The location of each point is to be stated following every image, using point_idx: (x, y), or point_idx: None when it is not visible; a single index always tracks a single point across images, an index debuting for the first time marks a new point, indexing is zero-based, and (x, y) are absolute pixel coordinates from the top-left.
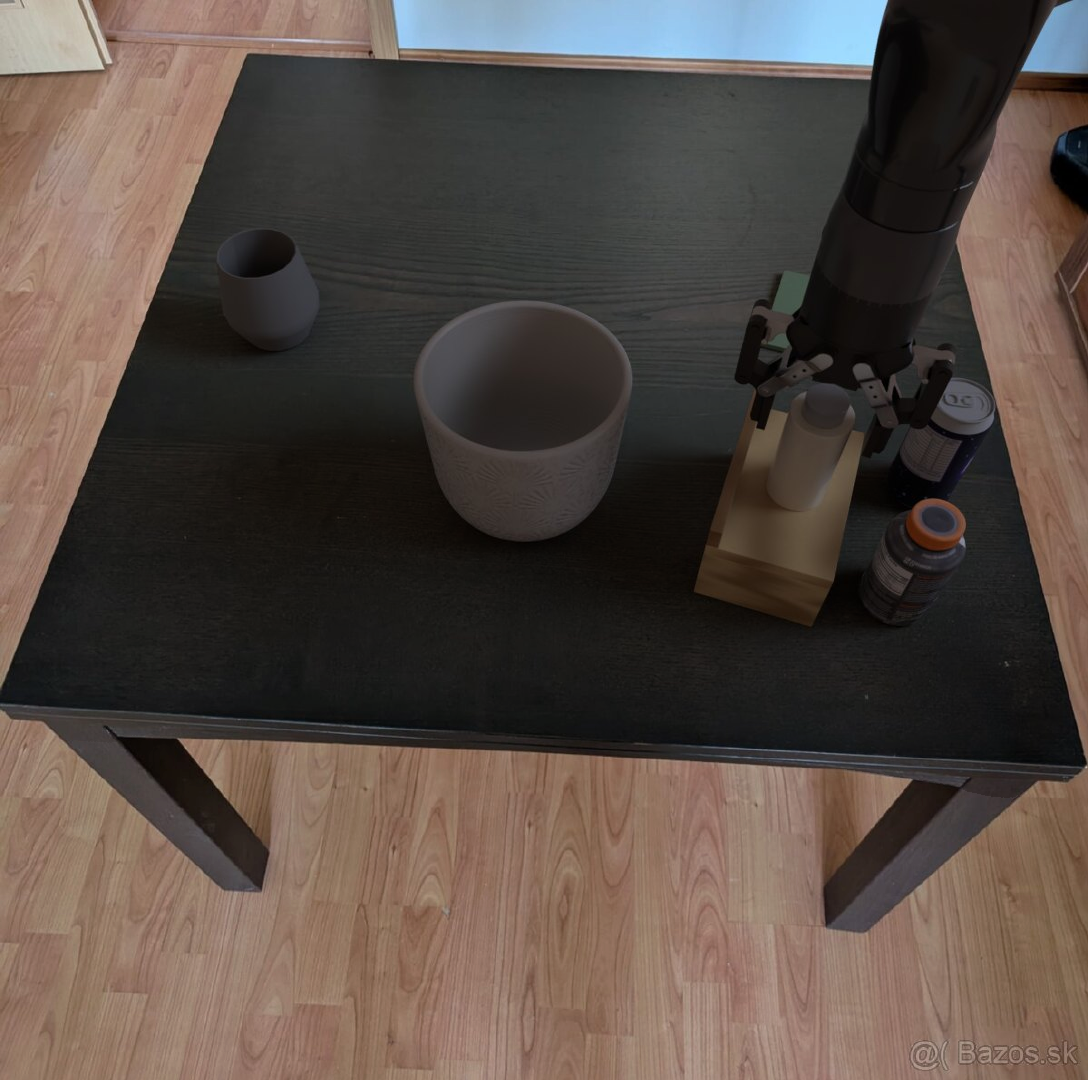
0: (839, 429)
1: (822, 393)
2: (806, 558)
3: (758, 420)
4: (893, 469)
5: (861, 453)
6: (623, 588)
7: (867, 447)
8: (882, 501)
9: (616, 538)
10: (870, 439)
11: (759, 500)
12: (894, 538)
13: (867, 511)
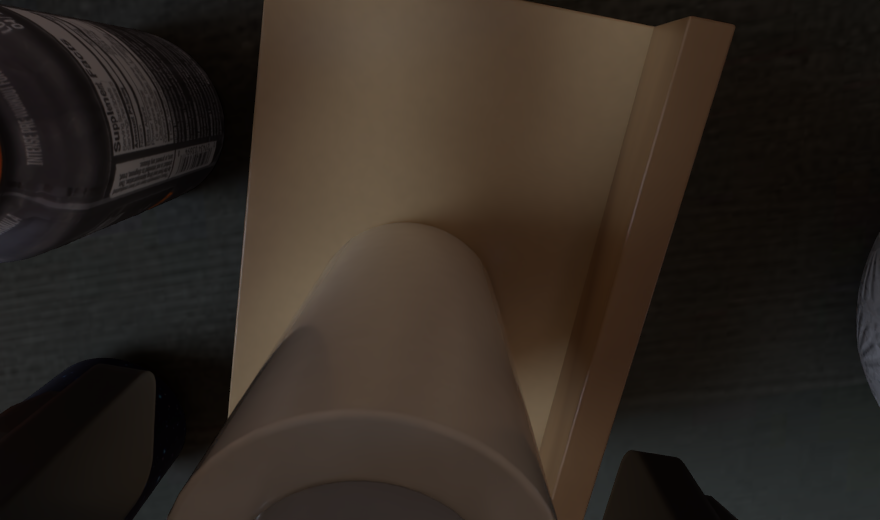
0: (249, 490)
1: None
2: (361, 34)
3: (703, 494)
4: (161, 442)
5: (147, 386)
6: (777, 35)
7: (91, 405)
8: (193, 372)
9: (786, 178)
10: (49, 448)
11: (514, 245)
12: (58, 111)
13: (222, 341)
